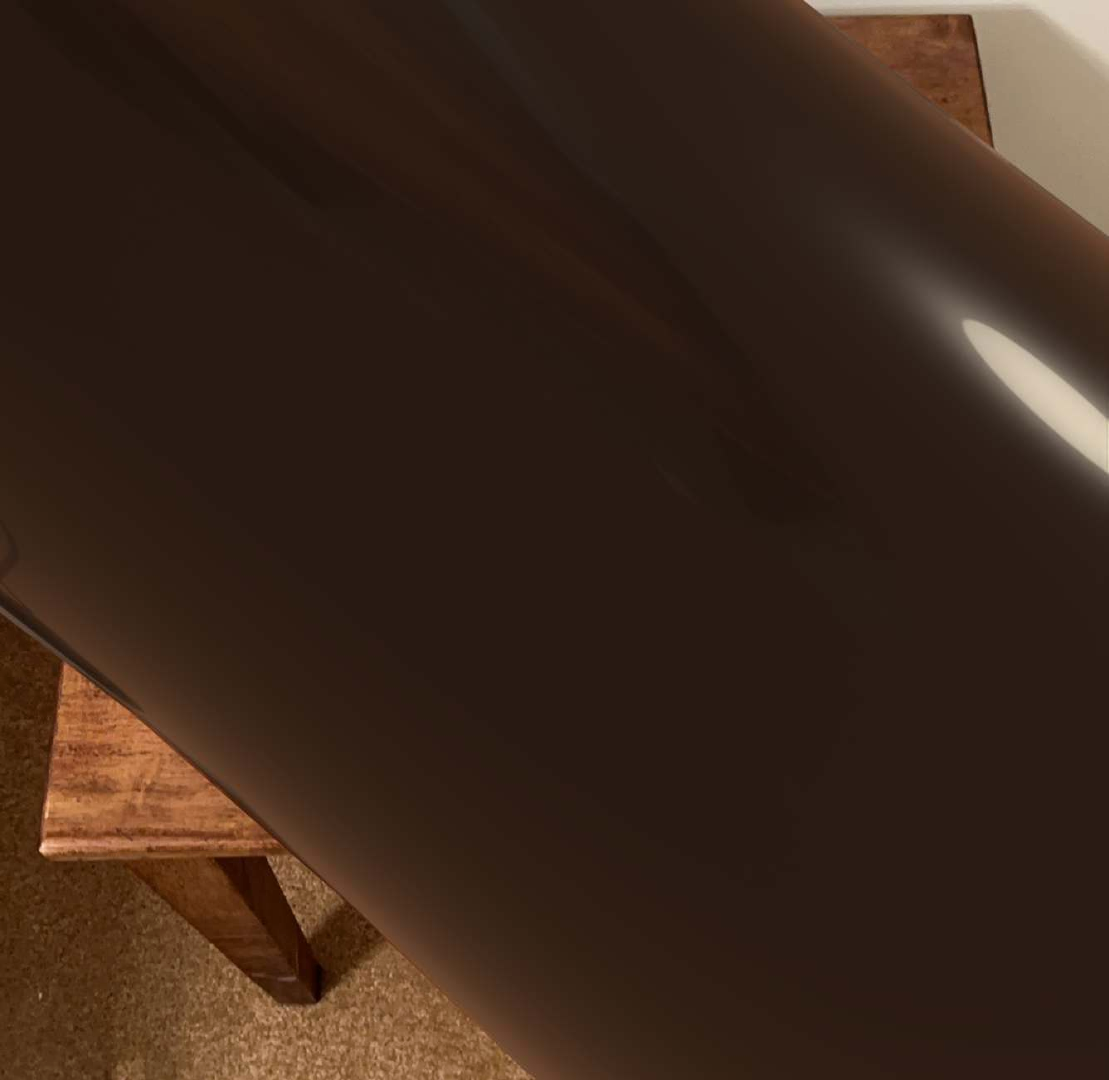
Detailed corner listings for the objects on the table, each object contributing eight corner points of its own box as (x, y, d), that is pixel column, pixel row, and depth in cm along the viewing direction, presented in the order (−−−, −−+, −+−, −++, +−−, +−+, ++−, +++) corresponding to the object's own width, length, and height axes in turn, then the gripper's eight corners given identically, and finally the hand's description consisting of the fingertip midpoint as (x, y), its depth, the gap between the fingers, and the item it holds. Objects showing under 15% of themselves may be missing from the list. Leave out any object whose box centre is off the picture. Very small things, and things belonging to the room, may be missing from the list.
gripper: (1027, 357, 29) (655, 329, 42) (618, 775, 25) (357, 596, 39) (1119, 578, 32) (747, 485, 46) (771, 973, 28) (481, 743, 42)
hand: (568, 536), depth 42 cm, fingers open, 8 cm apart
